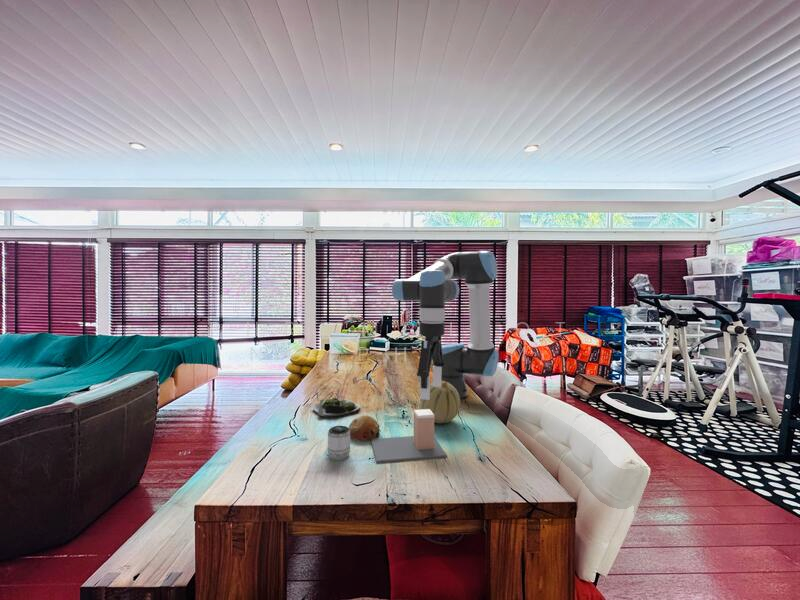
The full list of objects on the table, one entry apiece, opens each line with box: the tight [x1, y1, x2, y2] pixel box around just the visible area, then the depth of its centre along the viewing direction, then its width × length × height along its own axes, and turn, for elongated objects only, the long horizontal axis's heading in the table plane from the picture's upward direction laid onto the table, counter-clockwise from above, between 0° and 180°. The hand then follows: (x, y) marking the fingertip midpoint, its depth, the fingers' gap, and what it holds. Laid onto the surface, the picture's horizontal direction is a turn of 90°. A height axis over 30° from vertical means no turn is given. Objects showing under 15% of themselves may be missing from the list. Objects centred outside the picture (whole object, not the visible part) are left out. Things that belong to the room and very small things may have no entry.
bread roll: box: [348, 414, 382, 442], centre depth 110 cm, size 10×10×8 cm
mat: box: [370, 435, 448, 464], centre depth 101 cm, size 20×14×1 cm
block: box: [413, 408, 435, 450], centre depth 102 cm, size 5×5×10 cm
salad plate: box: [312, 397, 361, 419], centre depth 134 cm, size 19×18×5 cm
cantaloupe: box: [419, 381, 461, 424], centre depth 122 cm, size 15×15×15 cm
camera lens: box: [327, 425, 351, 461], centre depth 96 cm, size 6×6×8 cm
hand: (431, 392), depth 102 cm, fingers open, 13 cm apart
